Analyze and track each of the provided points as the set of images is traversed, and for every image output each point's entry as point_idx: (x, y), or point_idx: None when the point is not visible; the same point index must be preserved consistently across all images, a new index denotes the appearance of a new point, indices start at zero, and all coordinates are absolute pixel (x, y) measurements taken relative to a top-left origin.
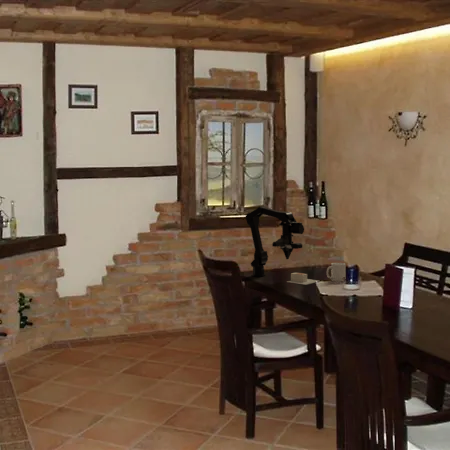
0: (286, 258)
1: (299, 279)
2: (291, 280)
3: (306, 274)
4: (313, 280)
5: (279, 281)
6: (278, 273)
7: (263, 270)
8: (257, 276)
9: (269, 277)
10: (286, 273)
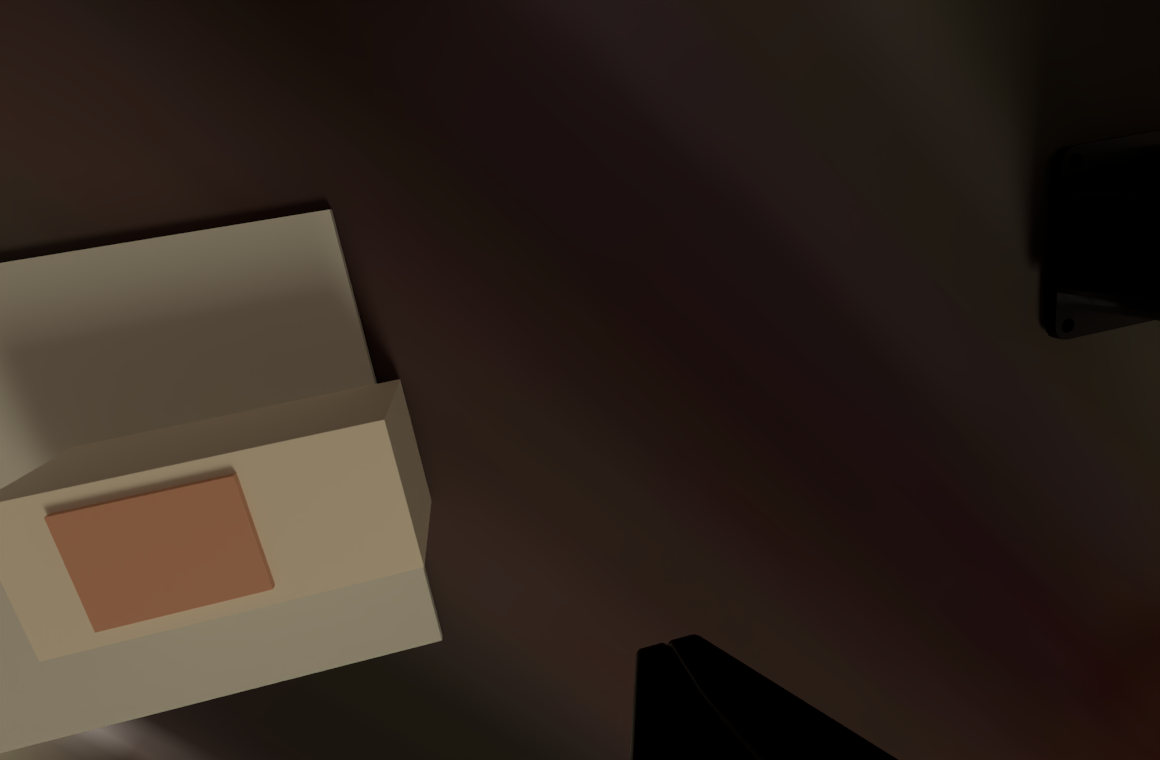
0: (688, 651)
1: (158, 439)
2: (364, 364)
3: (28, 632)
4: (96, 684)
5: (483, 143)
6: (1009, 608)
7: (1140, 270)
8: (1088, 142)
9: (901, 281)
10: (923, 697)
